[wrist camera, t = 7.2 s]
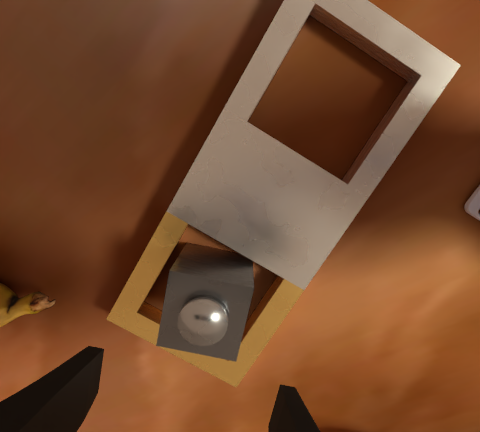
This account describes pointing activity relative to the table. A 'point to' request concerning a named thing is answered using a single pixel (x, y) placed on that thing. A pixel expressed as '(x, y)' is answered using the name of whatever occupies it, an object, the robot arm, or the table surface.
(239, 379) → the plate with square hole
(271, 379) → the table surface
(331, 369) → the table surface
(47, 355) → the table surface
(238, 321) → the grey knobbed block
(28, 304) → the banana
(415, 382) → the table surface
